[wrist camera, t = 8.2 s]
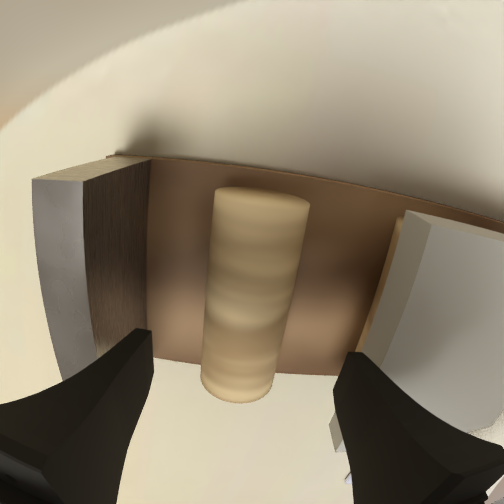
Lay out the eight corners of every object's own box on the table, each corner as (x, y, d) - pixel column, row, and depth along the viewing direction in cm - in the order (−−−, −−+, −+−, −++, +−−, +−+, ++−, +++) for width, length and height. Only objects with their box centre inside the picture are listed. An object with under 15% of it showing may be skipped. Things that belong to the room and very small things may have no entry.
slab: (479, 407, 16) (491, 425, 14) (328, 424, 15) (335, 452, 14) (557, 250, 12) (578, 263, 10) (405, 209, 11) (431, 224, 9)
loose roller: (273, 360, 19) (270, 408, 15) (208, 349, 19) (192, 394, 15) (306, 195, 15) (313, 215, 11) (224, 183, 15) (204, 198, 12)
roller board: (507, 358, 22) (549, 411, 14) (117, 340, 20) (72, 428, 12) (556, 240, 17) (618, 278, 10) (113, 154, 15) (20, 178, 8)
